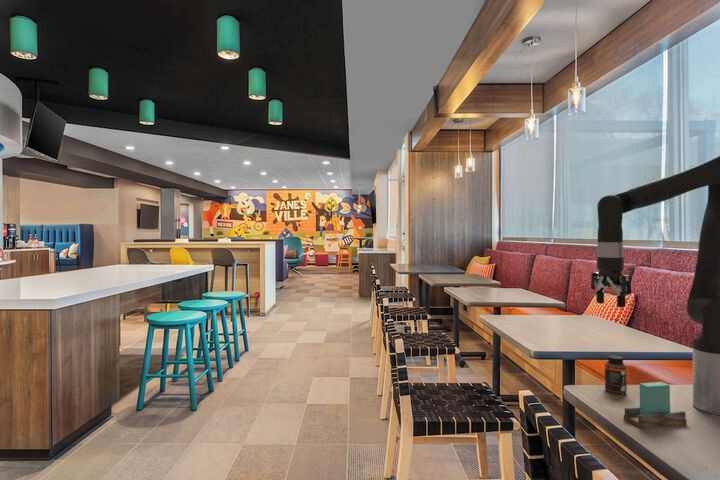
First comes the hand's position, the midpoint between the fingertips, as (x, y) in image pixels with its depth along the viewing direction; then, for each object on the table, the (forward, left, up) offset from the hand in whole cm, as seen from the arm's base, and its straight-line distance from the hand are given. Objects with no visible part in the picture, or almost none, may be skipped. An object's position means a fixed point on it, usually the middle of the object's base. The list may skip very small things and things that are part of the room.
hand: (610, 305), depth 130 cm
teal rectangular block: (+6, +22, -27) cm, 35 cm away
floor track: (+6, +22, -28) cm, 36 cm away
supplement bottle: (-1, +1, -28) cm, 28 cm away
